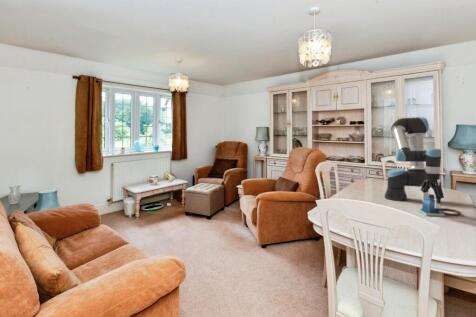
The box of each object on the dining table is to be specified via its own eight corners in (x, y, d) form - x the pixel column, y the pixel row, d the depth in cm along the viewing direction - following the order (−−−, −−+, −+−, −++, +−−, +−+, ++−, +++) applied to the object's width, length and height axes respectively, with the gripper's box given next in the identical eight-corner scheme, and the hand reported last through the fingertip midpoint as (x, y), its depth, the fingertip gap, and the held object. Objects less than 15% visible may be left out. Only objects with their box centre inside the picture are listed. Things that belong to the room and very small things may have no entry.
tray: (417, 210, 166) (417, 208, 165) (434, 211, 164) (434, 209, 164) (426, 216, 156) (426, 213, 155) (444, 216, 154) (444, 214, 154)
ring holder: (433, 210, 166) (433, 208, 166) (452, 210, 164) (452, 208, 164) (444, 215, 155) (444, 213, 155) (465, 216, 153) (465, 214, 153)
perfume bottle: (431, 211, 163) (432, 193, 161) (439, 214, 157) (440, 195, 155) (422, 211, 163) (423, 193, 161) (429, 214, 157) (430, 196, 155)
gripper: (415, 169, 170) (414, 199, 172) (438, 176, 145) (436, 210, 147) (427, 169, 168) (426, 199, 171) (452, 176, 144) (450, 211, 146)
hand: (430, 205), depth 159 cm, fingers open, 13 cm apart
